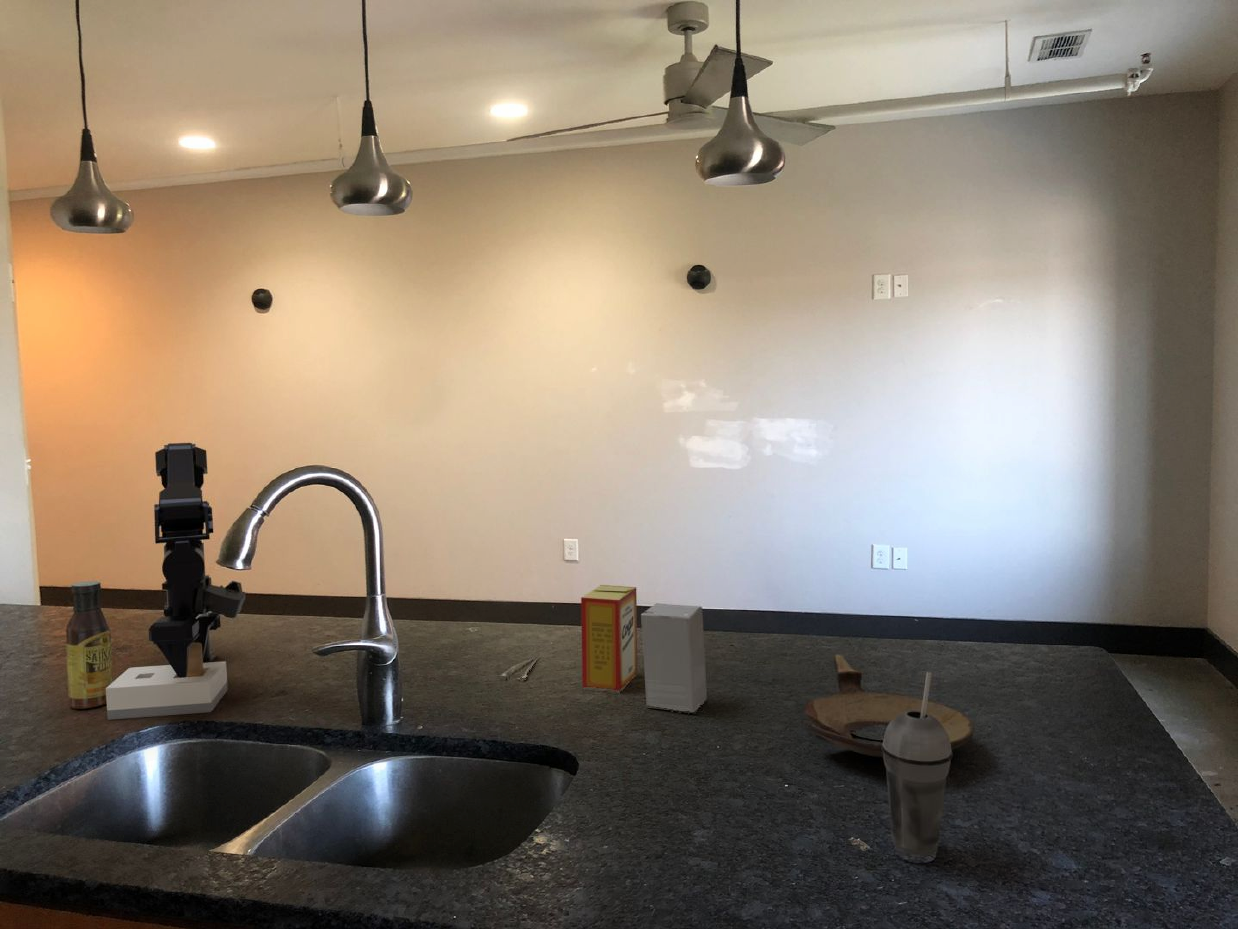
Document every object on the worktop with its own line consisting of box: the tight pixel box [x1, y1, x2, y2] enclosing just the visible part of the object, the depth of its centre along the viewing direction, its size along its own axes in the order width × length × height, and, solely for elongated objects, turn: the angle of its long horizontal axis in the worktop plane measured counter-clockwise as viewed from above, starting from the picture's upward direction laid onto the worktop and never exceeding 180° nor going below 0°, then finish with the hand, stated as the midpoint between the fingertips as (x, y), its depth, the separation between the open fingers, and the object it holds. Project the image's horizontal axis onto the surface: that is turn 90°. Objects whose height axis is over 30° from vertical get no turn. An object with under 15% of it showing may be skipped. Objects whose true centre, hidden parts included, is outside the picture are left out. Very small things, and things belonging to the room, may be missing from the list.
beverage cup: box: [881, 671, 953, 856], centre depth 94 cm, size 7×7×20 cm
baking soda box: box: [580, 584, 638, 691], centre depth 149 cm, size 10×6×16 cm
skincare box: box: [640, 603, 708, 713], centre depth 137 cm, size 8×7×16 cm
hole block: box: [106, 661, 229, 721], centre depth 141 cm, size 10×15×5 cm, turn 100°
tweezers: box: [500, 658, 537, 680], centre depth 159 cm, size 17×5×2 cm, turn 165°
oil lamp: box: [804, 653, 975, 758], centre depth 124 cm, size 22×30×8 cm
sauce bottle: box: [65, 580, 114, 710], centre depth 141 cm, size 7×6×20 cm
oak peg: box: [186, 643, 204, 677], centre depth 142 cm, size 3×3×8 cm
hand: (191, 668), depth 142 cm, fingers open, 9 cm apart
